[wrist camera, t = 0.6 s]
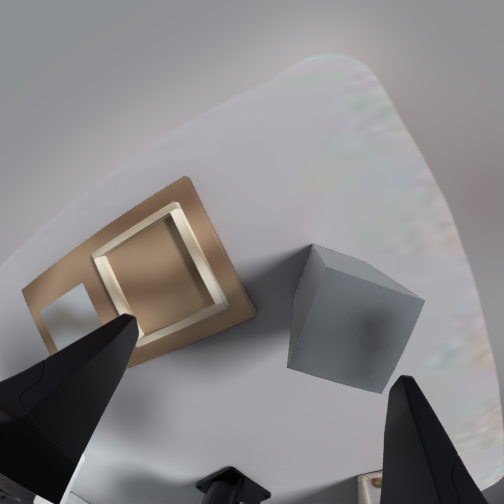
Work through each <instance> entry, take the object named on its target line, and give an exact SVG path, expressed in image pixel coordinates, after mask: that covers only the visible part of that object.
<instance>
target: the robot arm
mask: <svg viewBox="0 0 504 504" xmlns="http://www.w3.org/2000/svg"><path fill="white" fill-rule="evenodd" d="M138 337H139V329H138V324H137V319H136V317H135V316H134V315H131V314H128V313H124V314H121V315H120V316H118V317H116V318H115V319H113V320H111V321H109V322H108V323H106V324H104V325H102V326H101V327H99V328H97V329H96V330H94V331H92V332H90V333H89V334H87V335H85V336H84V337H82V338H80V339H78V340H77V341H75V342H73V343H72V344H70V345H68V346H66V347H65V348H63V349H61V350H60V351H58V352H56V353H54V354H53V355H51V356H49V357H48V358H46V359H45V360H42V361H41V362H39V363H37V364H36V365H34V366H32V367H30V368H28V369H27V370H25V371H23V372H21V373H19V374H16V375H14V376H12V377H10V378H8V379H6V380H3V381H1V382H0V504H34V500H35V498H36V496H37V495H38V496H40V497H41V498H43V499H45V500H47V501H49V502H51V503H53V504H60V502H61V500H62V498H63V495H64V493H65V491H66V489H67V487H68V484H69V482H70V480H71V478H72V476H73V474H74V472H75V469H76V467H77V465H78V463H79V461H80V459H81V457H82V454H83V452H84V450H85V448H86V446H87V444H88V442H89V440H90V438H91V436H92V434H93V432H94V430H95V428H96V426H97V424H98V422H99V420H100V418H101V416H102V414H103V412H104V411H105V409H106V407H107V405H108V403H109V401H110V399H111V397H112V395H113V393H114V391H115V390H116V388H117V386H118V384H119V382H120V380H121V378H122V376H123V374H124V372H125V370H126V367H127V365H128V362H129V360H130V357H131V355H132V352H133V350H134V347H135V345H136V342H137V340H138ZM196 488H197V489H199V490H200V491H201V492H203V493H204V494H205V496H204V498H203V501H202V503H201V504H260V502H262V501H264V500H266V499H268V498H270V497H271V493H270V492H269V491H267V490H266V489H264V488H263V487H261V486H260V485H258V484H257V483H255V482H254V481H252V480H251V479H250V478H248V477H247V476H245V475H244V474H243V473H241V472H240V471H238V470H237V469H236V468H234V467H229V468H227V469H225V470H223V471H221V472H219V473H217V474H215V475H213V476H211V477H209V478H207V479H205V480H203V481H201V482H199V483H197V485H196ZM380 504H489V503H488V502H487V500H486V499H485V497H484V496H483V494H482V493H481V491H480V490H479V488H478V487H477V485H476V484H475V482H474V481H473V479H472V477H471V476H470V474H469V473H468V471H467V469H466V467H465V465H464V464H463V462H462V460H461V458H460V456H459V455H458V453H457V451H456V449H455V447H454V446H453V444H452V442H451V440H450V438H449V437H448V435H447V433H446V431H445V430H444V428H443V426H442V424H441V423H440V421H439V419H438V418H437V416H436V414H435V412H434V411H433V409H432V407H431V406H430V404H429V402H428V401H427V399H426V397H425V396H424V394H423V392H422V391H421V389H420V388H419V386H418V384H417V383H416V381H415V379H414V378H413V377H412V376H407V375H401V376H400V377H399V378H398V379H397V381H396V382H395V383H394V385H393V386H392V388H391V389H390V392H389V399H388V408H387V416H386V424H385V432H384V453H383V470H382V484H381V495H380Z"/></svg>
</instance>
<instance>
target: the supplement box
mask: <svg viewBox="0 0 504 504" xmlns="http://www.w3.org/2000/svg"><path fill="white" fill-rule="evenodd" d="M65 504H89V503H87V502H86V501H84V500H83V499H81V498H79V497H78V496H76V495H75V494H73V493H72V492H70V493H69V495H68V497H67V500H66V502H65Z"/></svg>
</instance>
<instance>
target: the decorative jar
mask: <svg viewBox="0 0 504 504" xmlns="http://www.w3.org/2000/svg"><path fill="white" fill-rule="evenodd" d="M357 480H358V504H380V495H381V484H382V471H378V472H373V473H368V474H363V475H359V476H358V478H357Z"/></svg>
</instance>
